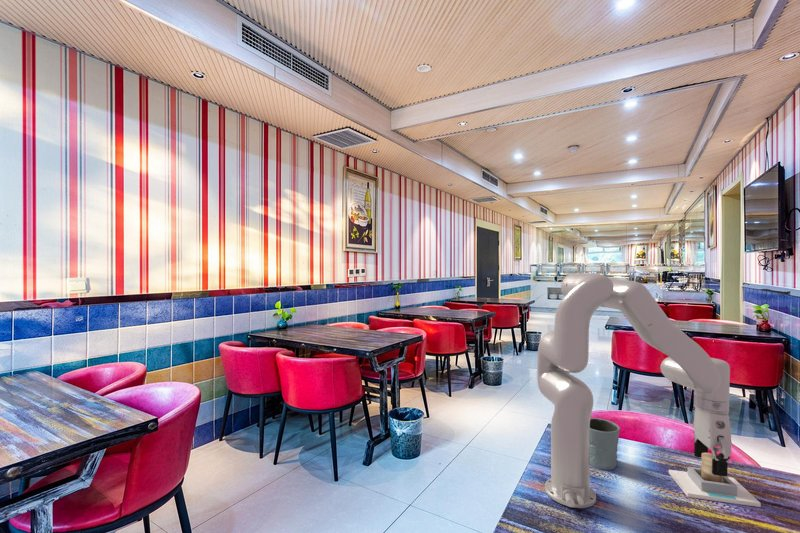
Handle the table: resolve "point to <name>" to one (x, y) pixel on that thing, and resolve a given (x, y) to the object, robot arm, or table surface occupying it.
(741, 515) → the table surface
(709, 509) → the table surface
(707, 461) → the barrel peg
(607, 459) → the grey cylindrical pot
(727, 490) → the white square-hole tray
